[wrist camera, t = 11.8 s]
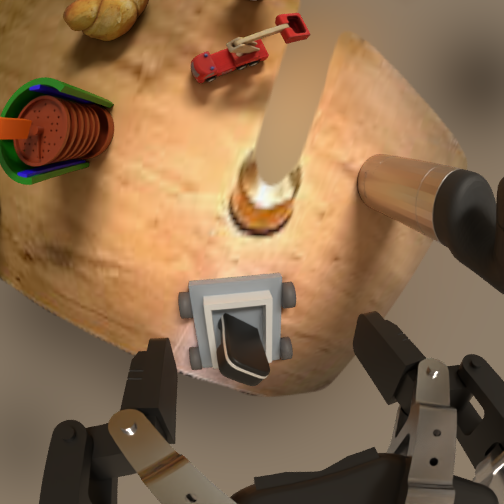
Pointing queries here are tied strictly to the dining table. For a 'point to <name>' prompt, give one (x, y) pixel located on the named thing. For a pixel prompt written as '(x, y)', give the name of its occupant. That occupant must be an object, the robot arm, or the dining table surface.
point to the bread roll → (103, 17)
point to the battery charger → (241, 352)
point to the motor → (52, 130)
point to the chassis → (237, 313)
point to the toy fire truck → (247, 49)
